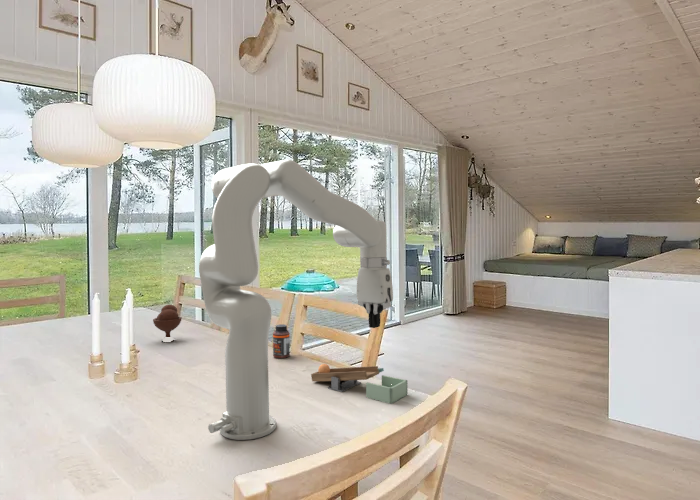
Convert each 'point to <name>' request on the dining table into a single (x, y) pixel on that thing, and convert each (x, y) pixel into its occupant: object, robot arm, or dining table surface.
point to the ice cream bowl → (167, 319)
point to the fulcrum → (342, 384)
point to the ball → (324, 368)
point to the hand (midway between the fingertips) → (374, 326)
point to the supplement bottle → (281, 342)
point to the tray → (387, 389)
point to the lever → (348, 373)
